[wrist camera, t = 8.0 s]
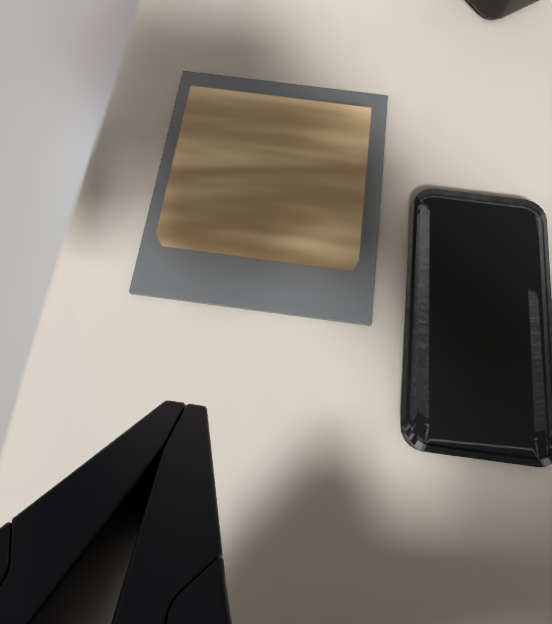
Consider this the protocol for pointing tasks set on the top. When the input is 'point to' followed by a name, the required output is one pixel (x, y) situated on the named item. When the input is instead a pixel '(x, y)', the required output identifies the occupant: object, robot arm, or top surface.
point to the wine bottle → (498, 7)
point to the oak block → (268, 178)
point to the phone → (478, 329)
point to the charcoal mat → (259, 272)
